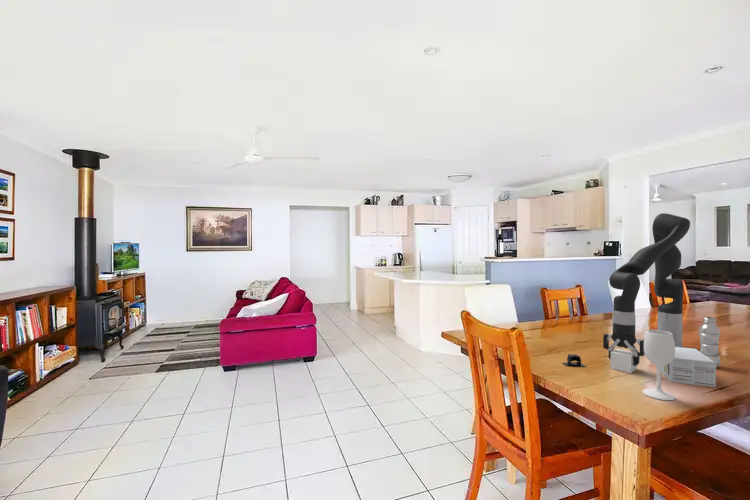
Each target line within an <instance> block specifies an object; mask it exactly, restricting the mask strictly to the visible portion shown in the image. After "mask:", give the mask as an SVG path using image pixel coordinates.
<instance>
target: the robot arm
mask: <svg viewBox="0 0 750 500" xmlns="http://www.w3.org/2000/svg"><path fill="white" fill-rule="evenodd" d="M651 227H652V230H651V231H652V237H653V241H654V242H653V243H652V244H649V245H648V246H645V247H642V248H640V249H639V250H637V251H636V253H634V254H633V256H631V258H630V259H629V261H627V262H626V263H624V264H623V265H621V266H620V267H619V268H617V269H615V270H614V271H613V272H612V273H611V275H610V277H609V280H608V281H609V285H610V286H611V288H613V289H616V290H621V291H622V293H621V295H616V296H615V297H614V298H613V313H612V334H610V333H604V334H603V339H602V340H603V344H602V347H603V349H605V350H607V351H608V359H609V361H610V360H611V352H612V351H614V350H615V349H616V347H618V348H624V349H629V351H630V352H632V353H633V354H634V366H637V367H638V365H639V364H640V358H641V357H643V356H645V353H644V339H637V338H636V312H635V311H636V308H635V307H636V300H637V297H638V294H639V291H640V288H641V280H640V277H639V276H642V275H644V274H646V273H647V271H648V270H649V269H650V268H651V267H652V266H653V265H654V269H655V270H654V271H655V275H654V285H653V287H654V288H653V289H654V290H653V291H654V294H655V295H656V297H658V298H664V299H674V300H673V301H670V302H667V303H663V304H659V305H658V306H657V330H660V331H666V332H670V333H672V335H673V339H674V343H675V347H682V348H683V322H684V321H683V316H684V315H683V313H684V312H683V303H684V302H683V299H684V290H685V289H684V285H685V284H684V282H683V280H682V279H677V278H669V277H670V276H671V275H673V274H674V273H676V272H677V271H678V270H679V269H680V267H681V266H682V265H681V264H682V252H681V250H680V249H679V248H678V246H677V245H676V244H677V243H678V242H680V241H681V240H682V239H683V238H684V237H685V236H686V235H687V233H688V231H690V227H691V220H690V219H689V218H686V217H682V216H678V215H674V214H671V213H666V212H664V213H659V214H657V216H655V218H654V219H653V222H652V226H651ZM610 339H611V340H612V341H613V343H612V344H611V345H610V344H609V343H610V342H609V341H610ZM636 344H637V345H638V347H639V350H638V349H637V347H636Z"/></svg>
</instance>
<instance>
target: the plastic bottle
mask: <svg viewBox="0 0 750 500" xmlns="http://www.w3.org/2000/svg"><path fill="white" fill-rule="evenodd" d="M702 319H703V320H702V322H703V323H702V324H700V326H699V327H698V335H699V342H700V344H699V345H700V346H699V347H700V348H699V352H701V353H702V354H704V355H705V356H707V357H709V358H710V359H712V360H713V361H715V362H716V368H719V366H721V357H720V353H719V342H720V341H719V340H720V336H721V331H720V328H719V327H718V326H717V325H716V323H717V318H716V317H711V316H703V318H702Z"/></svg>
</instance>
